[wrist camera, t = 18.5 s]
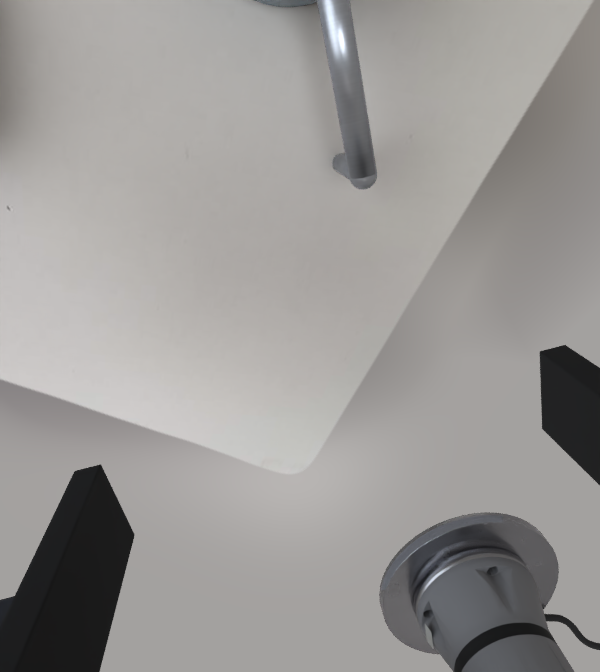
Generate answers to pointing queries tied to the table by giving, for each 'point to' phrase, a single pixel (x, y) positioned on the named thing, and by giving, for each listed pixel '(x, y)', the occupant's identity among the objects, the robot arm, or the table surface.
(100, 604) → the robot arm
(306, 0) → the bowl
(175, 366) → the table surface
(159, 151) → the table surface
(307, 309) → the table surface
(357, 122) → the ladle
